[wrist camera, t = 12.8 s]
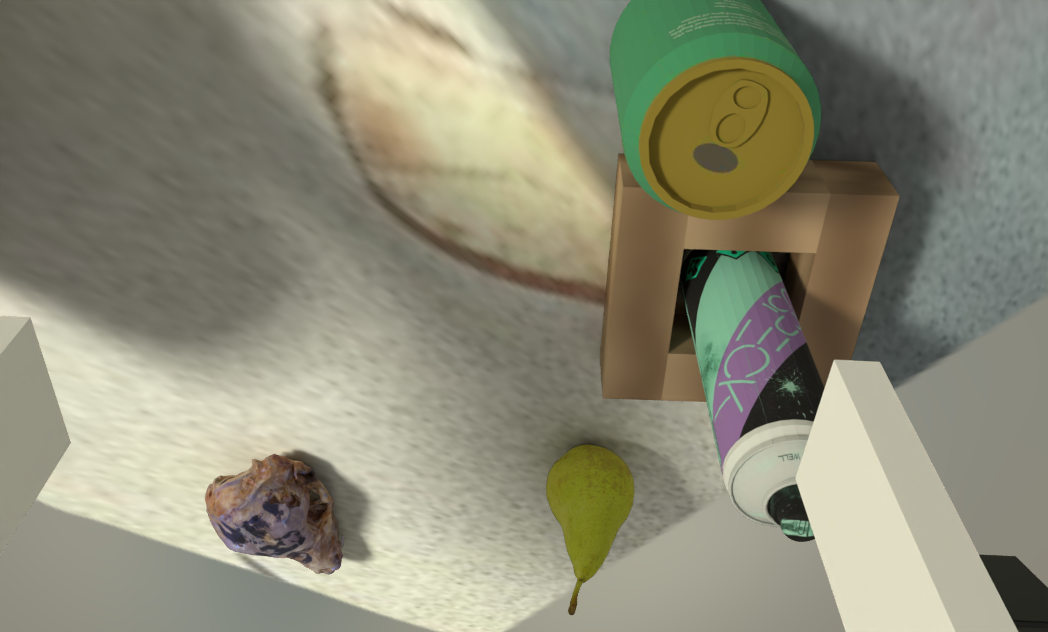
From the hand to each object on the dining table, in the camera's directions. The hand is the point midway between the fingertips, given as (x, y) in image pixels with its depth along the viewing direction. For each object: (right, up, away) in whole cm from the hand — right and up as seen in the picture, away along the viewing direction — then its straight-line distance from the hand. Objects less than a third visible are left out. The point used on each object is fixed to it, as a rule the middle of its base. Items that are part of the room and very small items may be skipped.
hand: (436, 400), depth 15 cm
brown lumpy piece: (-16, -12, +50) cm, 53 cm away
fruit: (+6, -8, +46) cm, 47 cm away
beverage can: (+10, +15, +30) cm, 35 cm away
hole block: (+13, +4, +37) cm, 40 cm away
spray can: (+13, +4, +38) cm, 40 cm away
